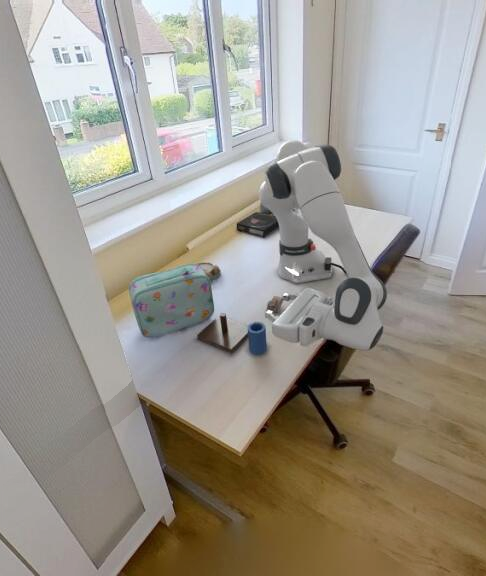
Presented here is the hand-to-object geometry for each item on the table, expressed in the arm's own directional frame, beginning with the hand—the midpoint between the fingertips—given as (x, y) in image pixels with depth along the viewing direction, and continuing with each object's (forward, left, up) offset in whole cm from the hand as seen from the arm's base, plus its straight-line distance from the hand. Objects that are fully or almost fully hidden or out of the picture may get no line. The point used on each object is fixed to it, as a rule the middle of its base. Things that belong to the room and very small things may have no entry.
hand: (275, 304), depth 110 cm
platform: (+16, -11, -20) cm, 28 cm away
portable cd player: (+2, -93, -20) cm, 96 cm away
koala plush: (-10, -113, -20) cm, 116 cm away
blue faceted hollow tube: (+6, -4, -20) cm, 21 cm away
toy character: (-1, -23, -20) cm, 31 cm away
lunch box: (+33, -20, -20) cm, 43 cm away
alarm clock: (+26, -49, -20) cm, 60 cm away
